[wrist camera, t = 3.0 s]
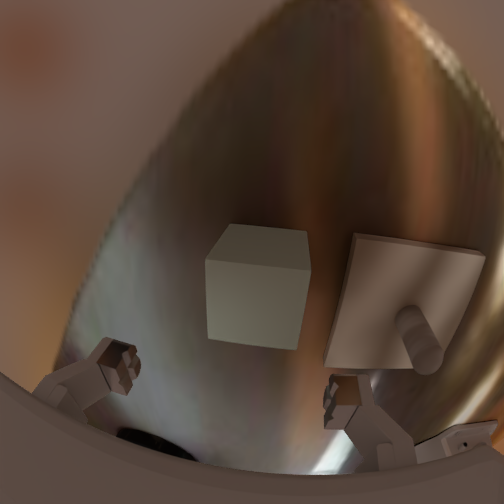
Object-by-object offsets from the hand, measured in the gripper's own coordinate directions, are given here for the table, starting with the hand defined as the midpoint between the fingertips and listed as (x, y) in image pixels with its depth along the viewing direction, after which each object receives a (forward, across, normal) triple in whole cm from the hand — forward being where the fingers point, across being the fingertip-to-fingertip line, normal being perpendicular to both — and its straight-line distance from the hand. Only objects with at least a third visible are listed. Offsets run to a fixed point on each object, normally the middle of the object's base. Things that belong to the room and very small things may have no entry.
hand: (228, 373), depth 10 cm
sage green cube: (+11, 0, 0) cm, 11 cm away
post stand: (+11, +12, -3) cm, 17 cm away
